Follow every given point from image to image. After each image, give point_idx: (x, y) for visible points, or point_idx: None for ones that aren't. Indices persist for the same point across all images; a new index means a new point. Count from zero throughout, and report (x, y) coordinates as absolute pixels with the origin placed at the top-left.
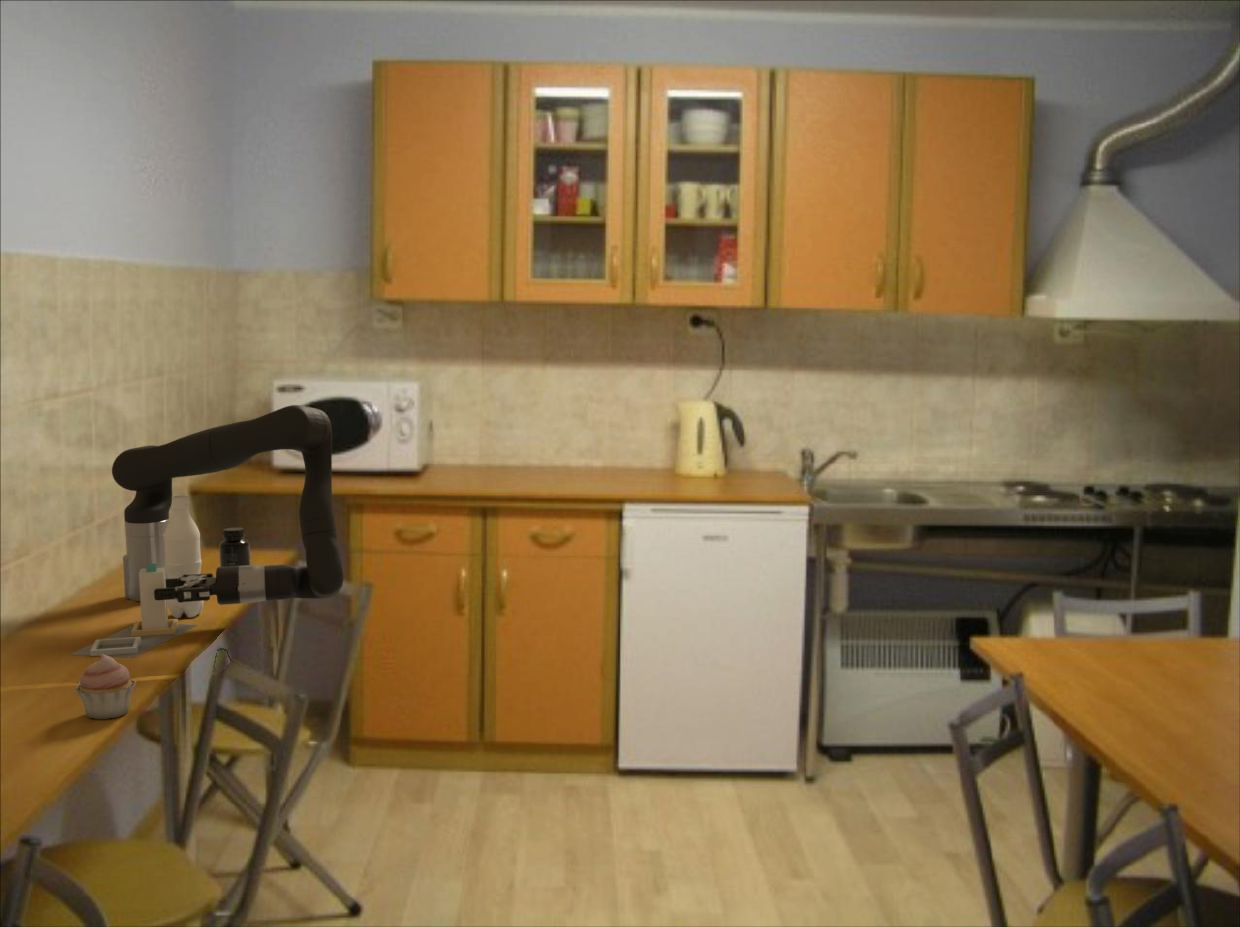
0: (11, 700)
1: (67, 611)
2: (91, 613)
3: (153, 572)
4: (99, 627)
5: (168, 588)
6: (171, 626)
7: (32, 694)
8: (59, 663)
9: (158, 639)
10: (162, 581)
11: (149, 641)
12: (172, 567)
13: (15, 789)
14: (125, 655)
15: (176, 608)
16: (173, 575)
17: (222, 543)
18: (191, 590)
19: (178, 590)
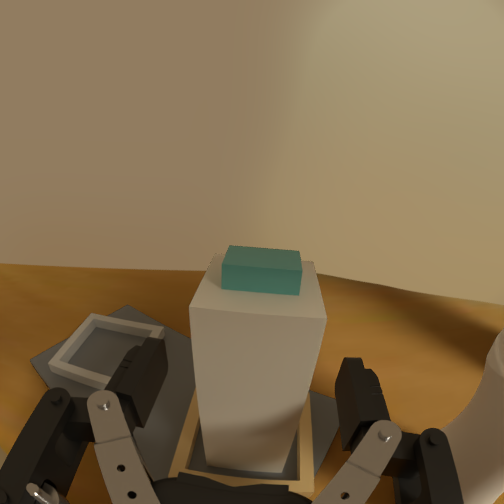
0: (20, 264)
1: (438, 306)
2: (435, 329)
3: (205, 281)
4: (339, 347)
5: (127, 373)
6: (204, 472)
7: (18, 274)
8: (108, 299)
9: None
10: (194, 345)
11: None
12: (488, 361)
13: None
14: (52, 355)
15: None
16: (480, 389)
17: None
18: (23, 436)
19: (50, 390)
